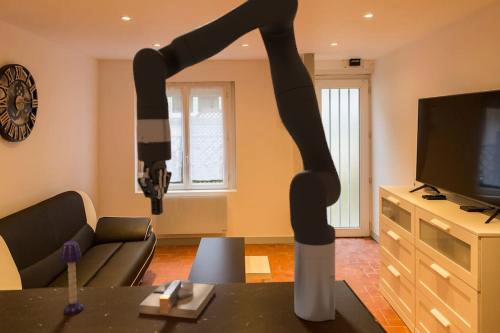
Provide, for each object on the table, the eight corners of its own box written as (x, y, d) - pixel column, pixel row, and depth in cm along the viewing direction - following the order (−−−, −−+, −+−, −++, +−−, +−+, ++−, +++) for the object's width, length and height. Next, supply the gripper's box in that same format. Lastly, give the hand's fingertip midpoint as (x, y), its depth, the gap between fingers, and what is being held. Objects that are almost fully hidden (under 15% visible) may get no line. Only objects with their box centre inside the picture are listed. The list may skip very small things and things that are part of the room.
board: (215, 292, 99) (214, 283, 99) (196, 318, 86) (195, 308, 85) (165, 288, 102) (165, 279, 102) (139, 312, 89) (139, 303, 88)
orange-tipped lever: (170, 286, 98) (169, 272, 97) (196, 287, 97) (196, 273, 96) (148, 314, 83) (148, 298, 83) (179, 315, 82) (179, 299, 82)
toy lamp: (89, 307, 92) (85, 240, 90) (76, 316, 87) (71, 246, 86) (72, 305, 93) (68, 239, 91) (58, 314, 89) (53, 245, 87)
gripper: (152, 139, 94) (155, 207, 96) (123, 141, 81) (127, 220, 83) (180, 138, 92) (183, 208, 94) (156, 140, 79) (159, 221, 81)
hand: (157, 214), depth 88 cm, fingers closed
